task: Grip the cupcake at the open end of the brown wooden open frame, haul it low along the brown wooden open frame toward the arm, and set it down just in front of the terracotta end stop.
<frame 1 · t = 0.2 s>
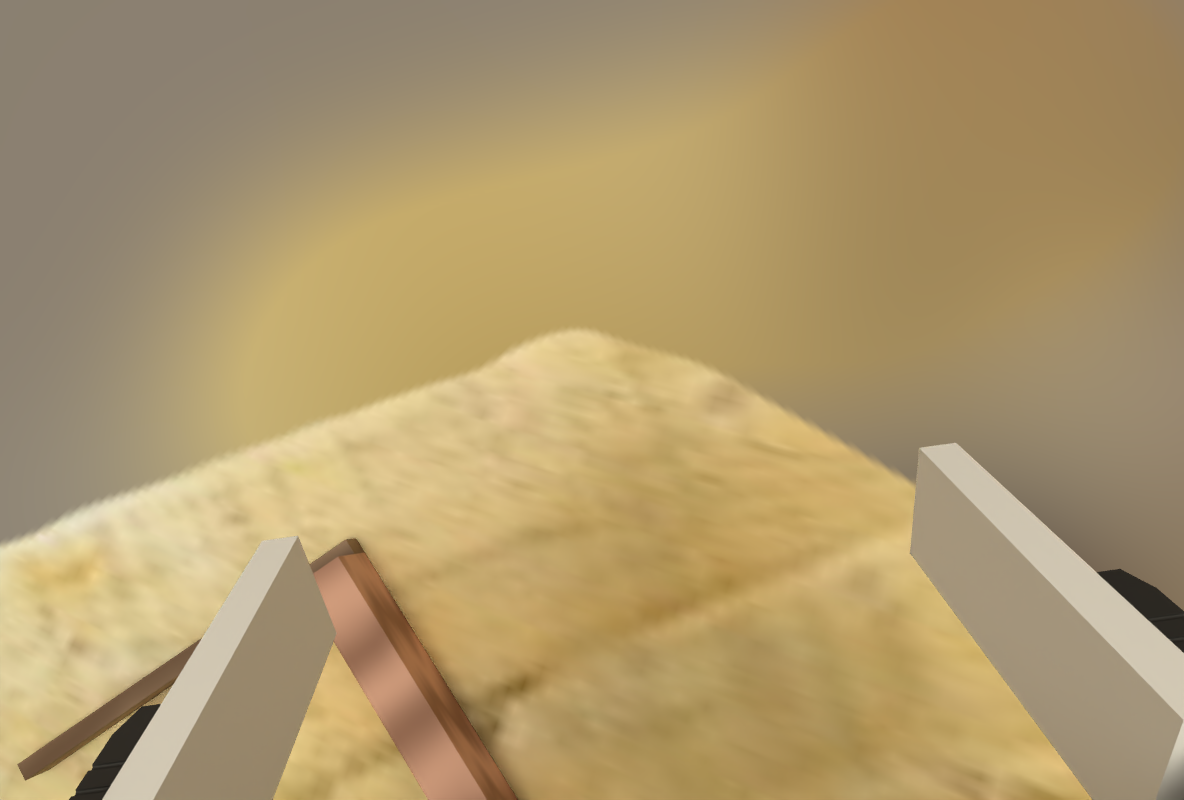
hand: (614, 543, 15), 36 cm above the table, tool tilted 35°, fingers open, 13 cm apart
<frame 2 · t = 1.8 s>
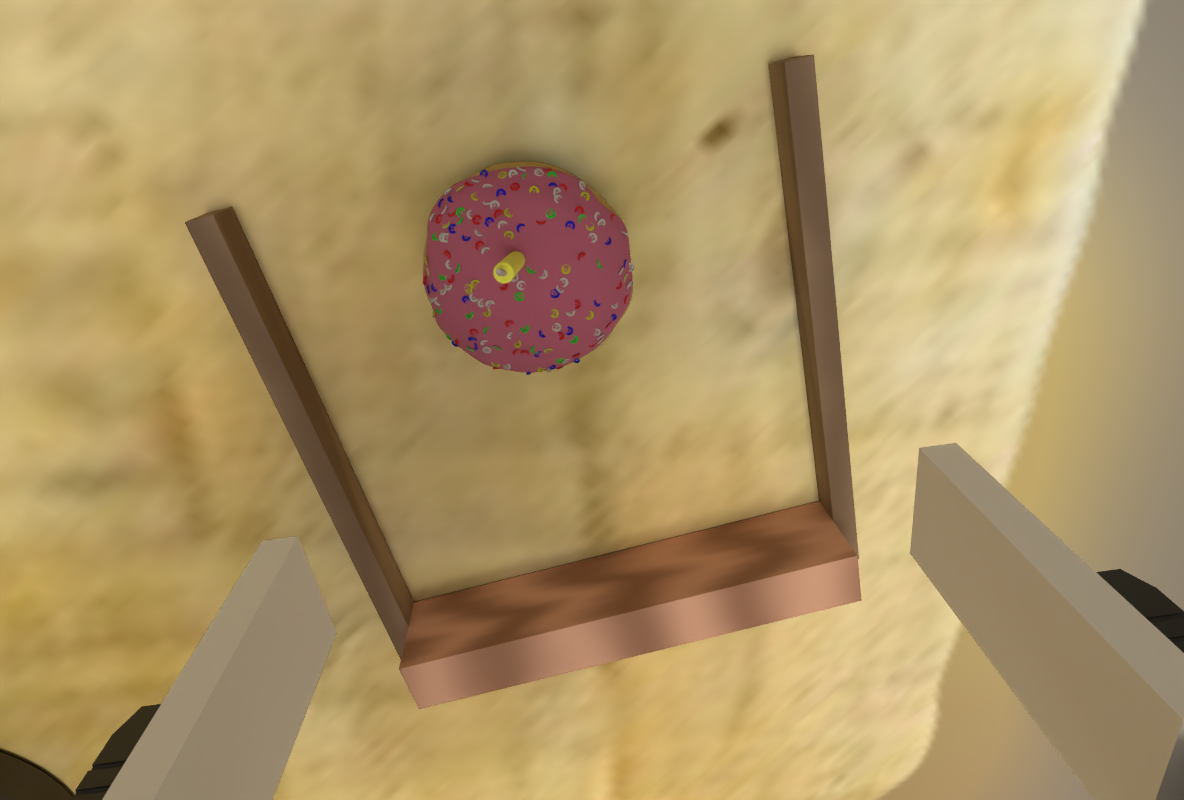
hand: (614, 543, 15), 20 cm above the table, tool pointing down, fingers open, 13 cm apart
brown wooden open frame: (572, 399, 35), on the table
cupcake: (529, 247, 32), on the table
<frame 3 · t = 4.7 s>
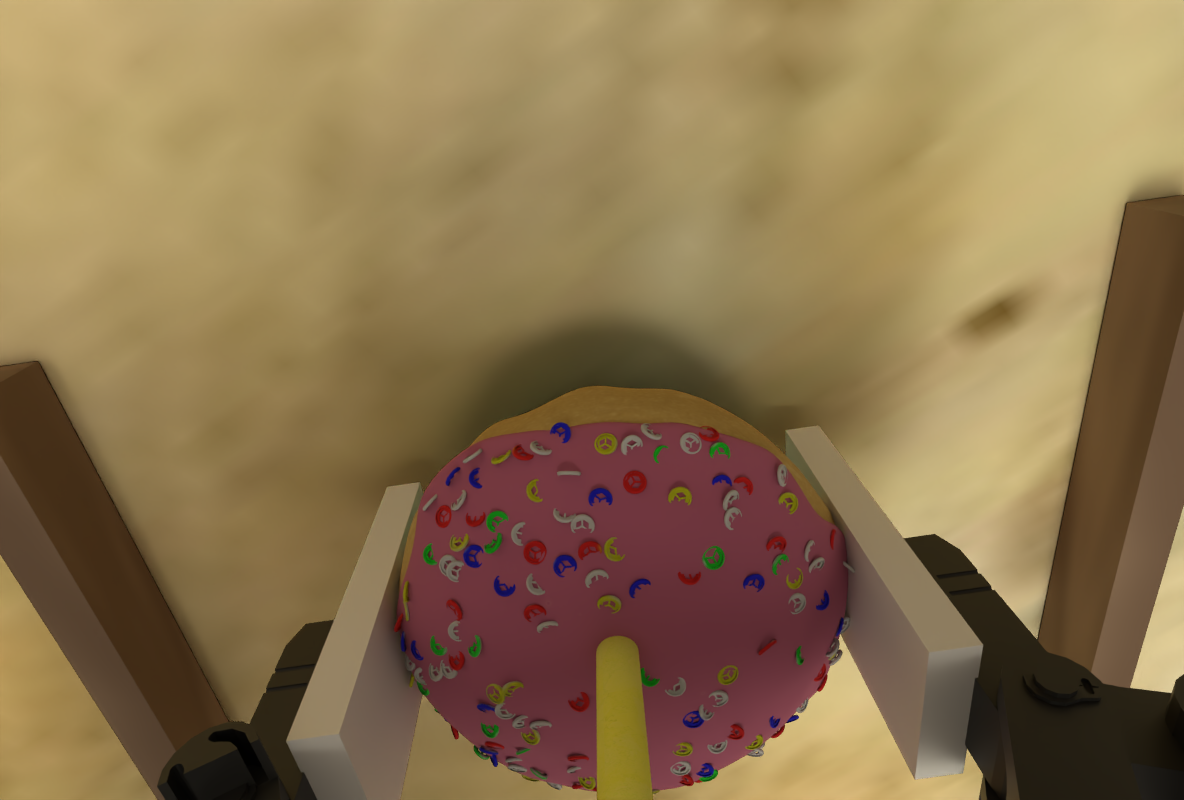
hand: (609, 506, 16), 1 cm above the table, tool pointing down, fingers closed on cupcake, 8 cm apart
brown wooden open frame: (638, 700, 21), on the table
cupcake: (606, 471, 17), on the table, touching gripper
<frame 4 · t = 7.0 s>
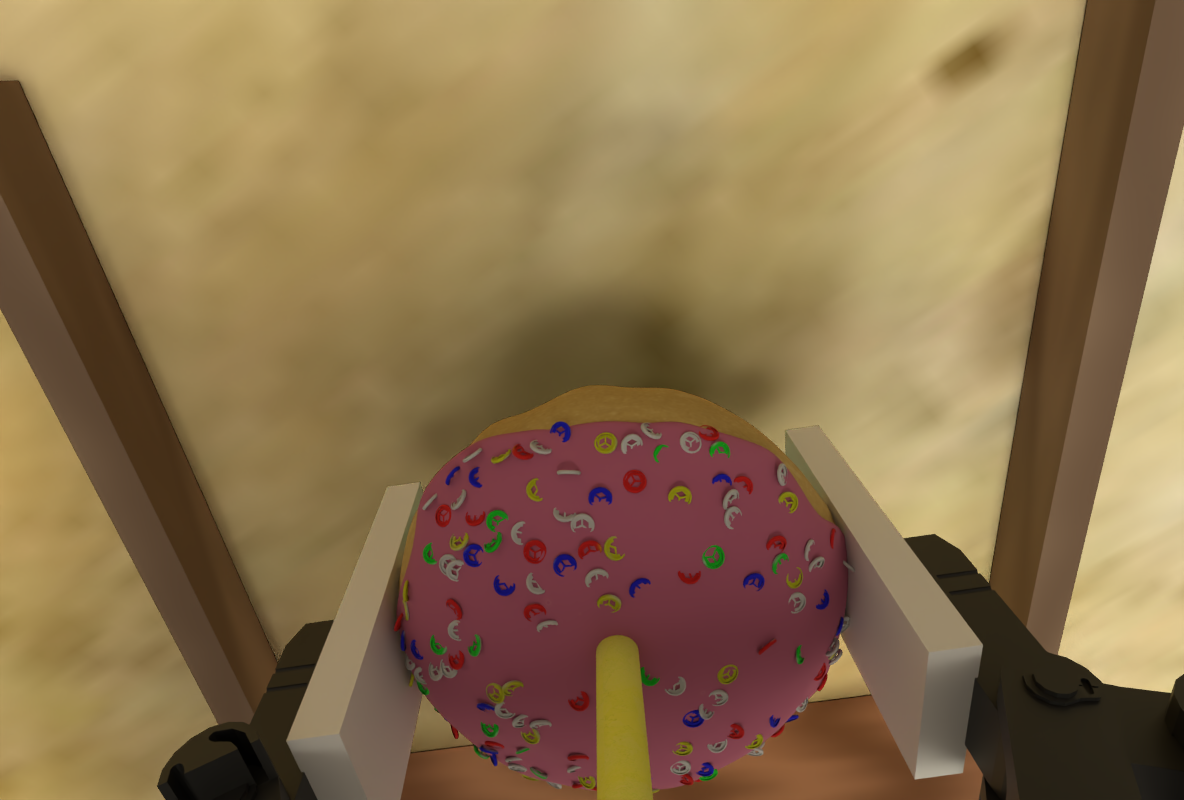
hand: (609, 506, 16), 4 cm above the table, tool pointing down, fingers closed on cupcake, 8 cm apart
brown wooden open frame: (616, 497, 21), on the table
cupcake: (606, 471, 17), point 3 cm above the table, touching gripper
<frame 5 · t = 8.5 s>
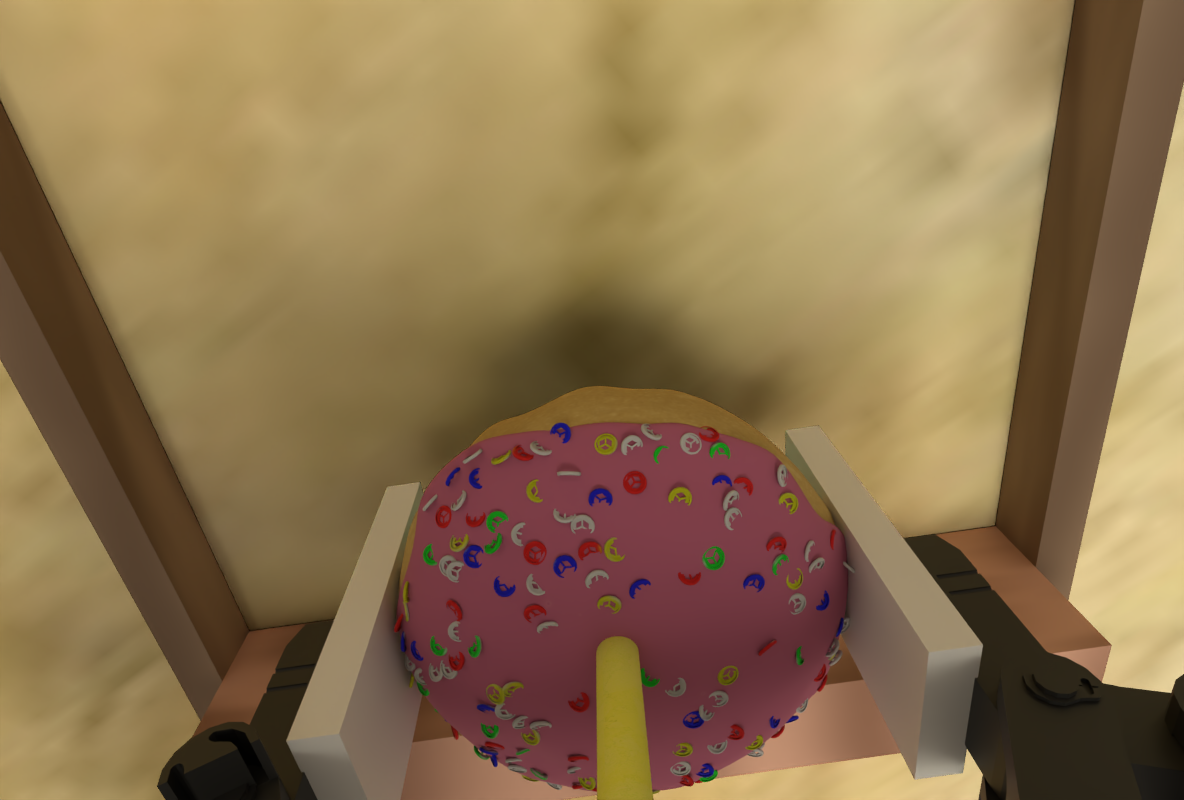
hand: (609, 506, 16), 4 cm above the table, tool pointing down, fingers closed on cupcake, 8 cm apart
brown wooden open frame: (575, 274, 17), on the table
cupcake: (606, 471, 17), point 2 cm above the table, touching gripper
when the fingers open (3 cm above the table, at t = 9.5 s): cupcake drops 1 cm, on the table.
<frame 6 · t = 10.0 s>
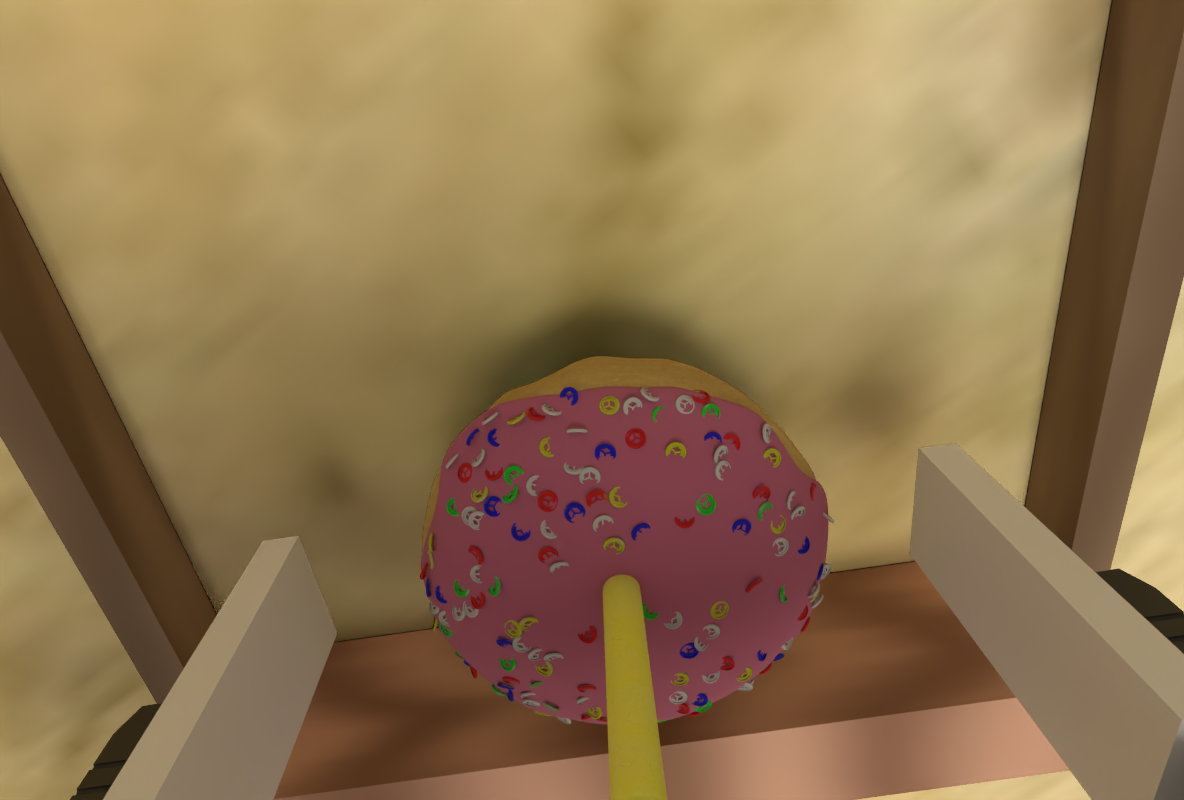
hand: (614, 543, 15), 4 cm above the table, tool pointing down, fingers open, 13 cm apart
brown wooden open frame: (578, 285, 16), on the table
cupcake: (608, 441, 19), on the table
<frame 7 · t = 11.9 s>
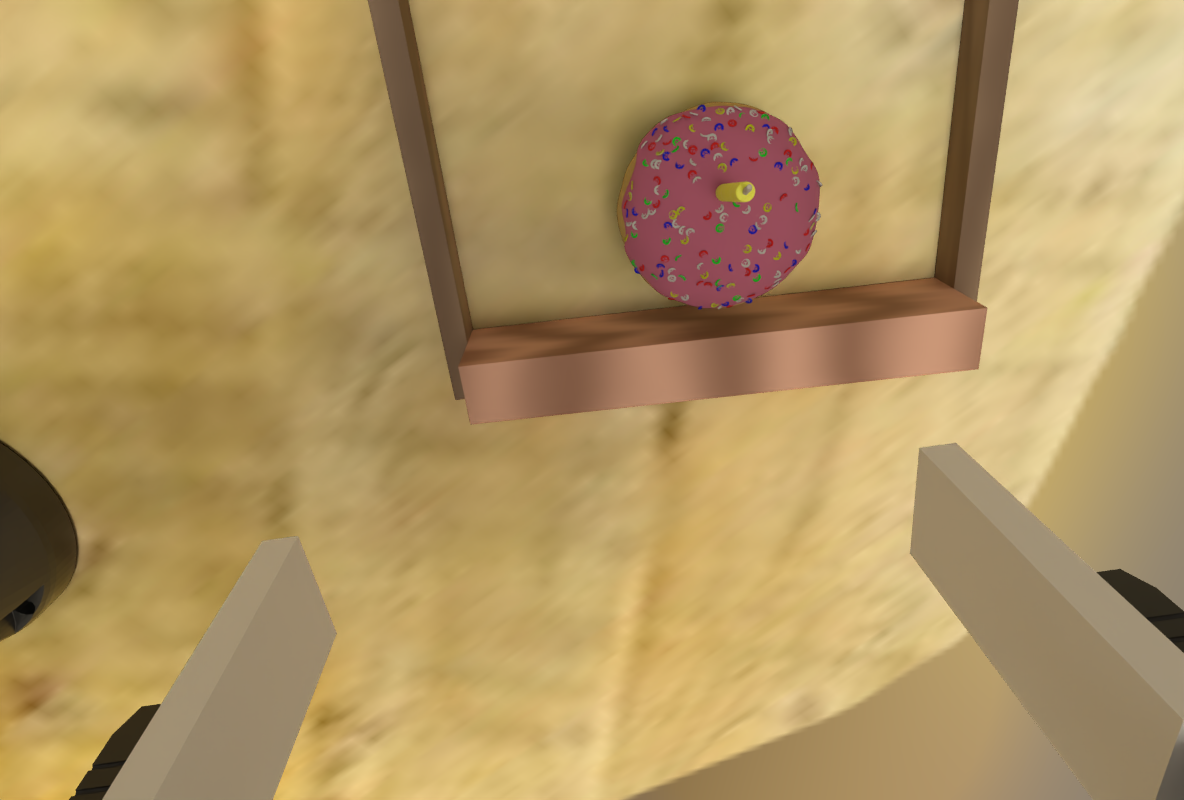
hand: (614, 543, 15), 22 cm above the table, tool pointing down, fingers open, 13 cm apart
brown wooden open frame: (692, 94, 31), on the table
cupcake: (700, 194, 33), on the table
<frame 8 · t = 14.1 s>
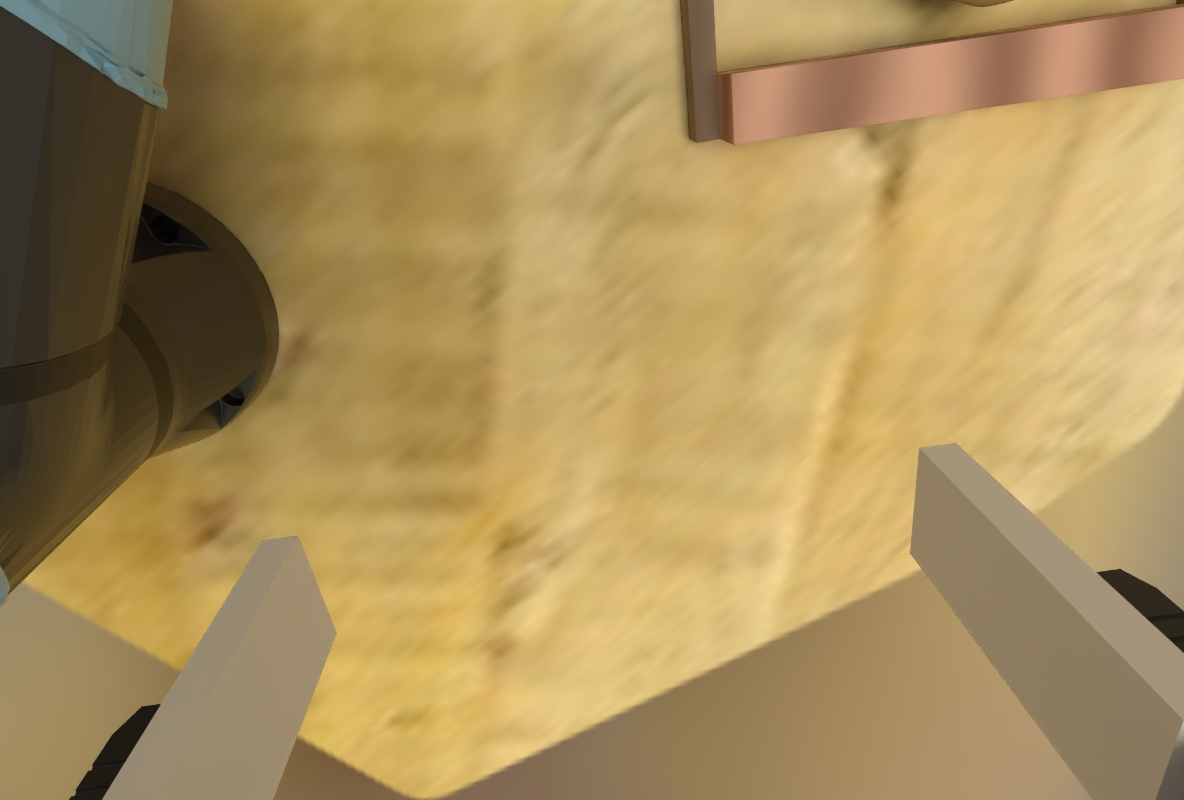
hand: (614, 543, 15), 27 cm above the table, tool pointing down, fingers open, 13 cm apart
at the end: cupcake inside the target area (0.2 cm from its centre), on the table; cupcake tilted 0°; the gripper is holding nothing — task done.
